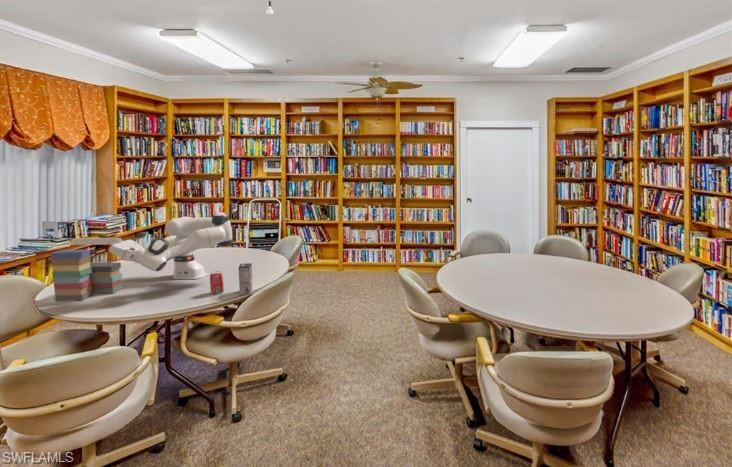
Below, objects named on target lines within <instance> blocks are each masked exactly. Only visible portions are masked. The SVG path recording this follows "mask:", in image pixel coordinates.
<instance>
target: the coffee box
mask: <svg viewBox="0 0 732 467" xmlns="http://www.w3.org/2000/svg"><path fill="white" fill-rule="evenodd" d="M252 264H253V263H252V262H250V263H240V264H239V266H238V283H239V284H238V285H239V287H238V288H239V295H251V294H252V291H253V273H252V272H253V271H252V269H253V268H252Z"/></svg>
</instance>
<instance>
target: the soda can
mask: <svg viewBox="0 0 732 467" xmlns="http://www.w3.org/2000/svg"><path fill="white" fill-rule="evenodd" d="M209 284H210V285H209V286H210V288H209V289H210V293H211V294H213V295H219V294H222V293H224V291H225V290H224V288H225V287H224V274H223V273H222V271H219V270H218V271H217V270H216V271H212V272H210V275H209Z"/></svg>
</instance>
